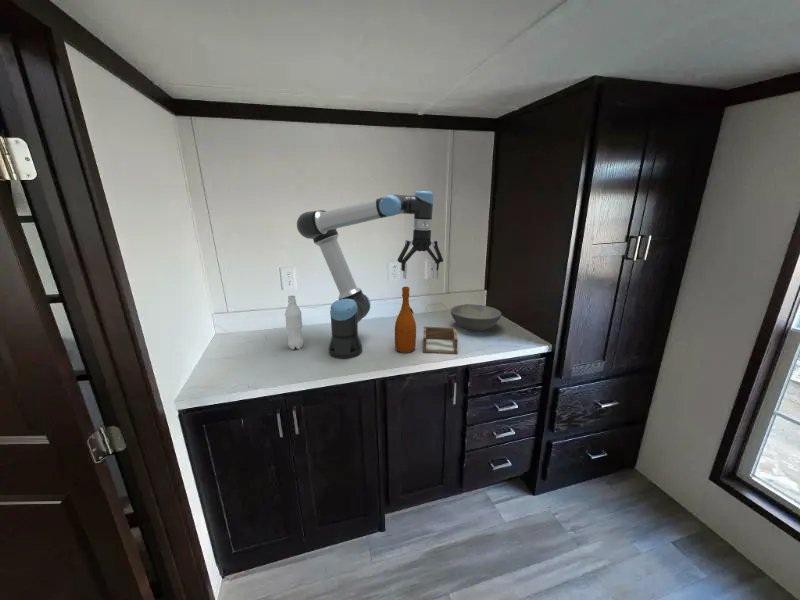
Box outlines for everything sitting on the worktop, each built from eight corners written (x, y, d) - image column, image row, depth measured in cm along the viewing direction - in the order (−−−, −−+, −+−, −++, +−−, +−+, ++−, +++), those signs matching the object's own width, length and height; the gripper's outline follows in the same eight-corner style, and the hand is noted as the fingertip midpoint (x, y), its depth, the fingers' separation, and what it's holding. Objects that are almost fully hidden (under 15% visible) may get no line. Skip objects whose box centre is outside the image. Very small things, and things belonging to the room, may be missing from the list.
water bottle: (299, 342, 166) (294, 293, 159) (307, 347, 161) (302, 296, 154) (285, 347, 161) (280, 296, 154) (293, 352, 157) (287, 299, 149)
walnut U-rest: (457, 354, 155) (458, 340, 153) (422, 352, 157) (423, 339, 154) (454, 339, 171) (455, 327, 168) (423, 338, 172) (423, 325, 170)
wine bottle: (413, 354, 155) (415, 290, 146) (392, 352, 157) (392, 289, 148) (417, 345, 164) (418, 284, 155) (397, 343, 166) (397, 283, 157)
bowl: (440, 328, 185) (441, 310, 182) (465, 315, 204) (466, 299, 201) (485, 341, 168) (486, 322, 165) (507, 326, 188) (509, 309, 185)
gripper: (395, 229, 139) (394, 280, 146) (453, 230, 145) (448, 279, 152) (391, 227, 146) (390, 276, 153) (446, 228, 152) (442, 275, 159)
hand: (419, 277), depth 152 cm, fingers open, 13 cm apart
